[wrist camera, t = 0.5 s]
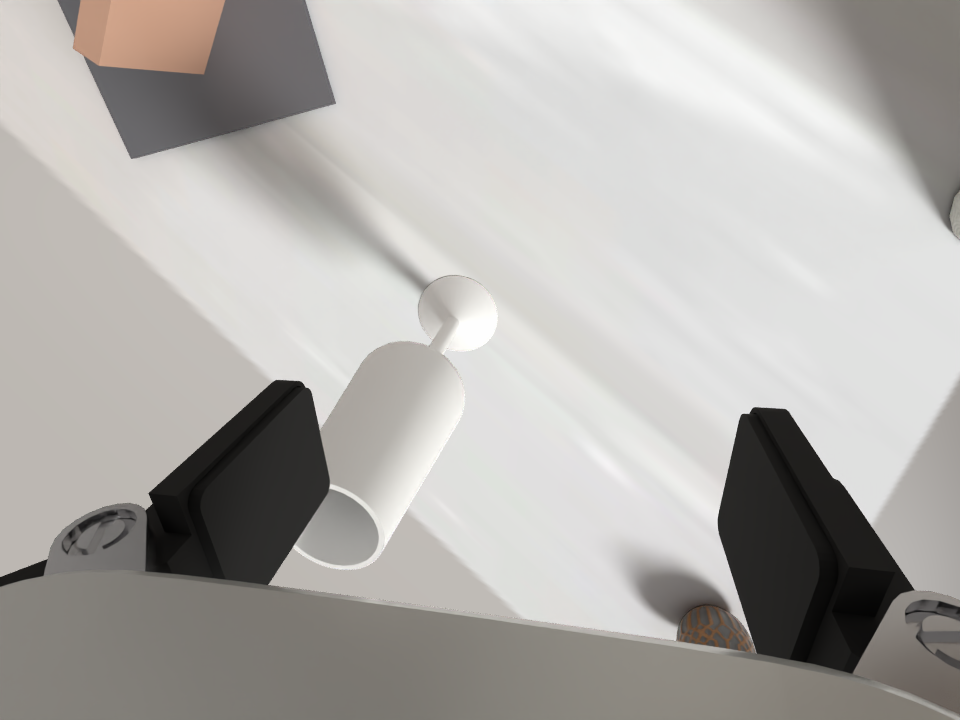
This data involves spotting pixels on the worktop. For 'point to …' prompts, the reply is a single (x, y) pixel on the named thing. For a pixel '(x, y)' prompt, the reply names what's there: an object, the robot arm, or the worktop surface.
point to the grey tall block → (955, 215)
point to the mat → (220, 79)
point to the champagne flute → (394, 426)
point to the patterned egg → (714, 629)
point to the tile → (148, 33)
